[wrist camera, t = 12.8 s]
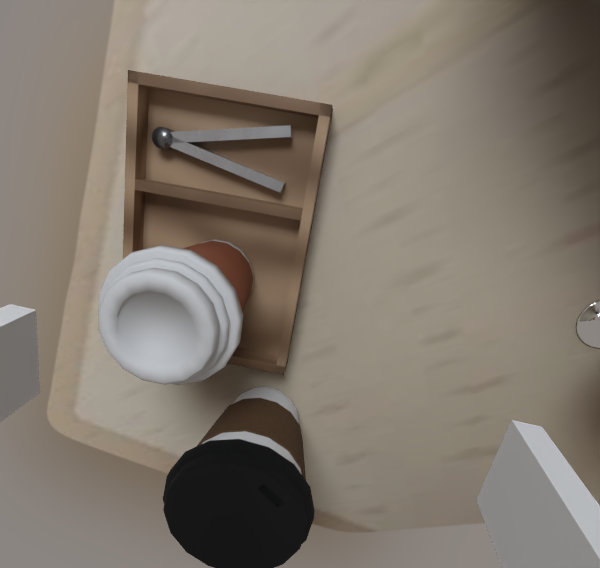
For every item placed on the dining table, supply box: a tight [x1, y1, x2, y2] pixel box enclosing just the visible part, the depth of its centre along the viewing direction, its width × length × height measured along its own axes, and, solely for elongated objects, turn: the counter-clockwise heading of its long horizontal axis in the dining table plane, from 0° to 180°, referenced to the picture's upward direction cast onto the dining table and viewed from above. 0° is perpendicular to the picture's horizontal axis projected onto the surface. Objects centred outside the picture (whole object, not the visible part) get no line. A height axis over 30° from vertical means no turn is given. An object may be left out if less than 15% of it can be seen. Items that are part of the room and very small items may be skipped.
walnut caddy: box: [123, 70, 333, 375], centre depth 31 cm, size 22×15×2 cm
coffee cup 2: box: [163, 387, 314, 568], centre depth 32 cm, size 11×11×12 cm
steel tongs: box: [152, 125, 293, 193], centre depth 29 cm, size 11×5×1 cm, turn 80°
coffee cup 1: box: [99, 239, 255, 385], centre depth 27 cm, size 9×9×12 cm
